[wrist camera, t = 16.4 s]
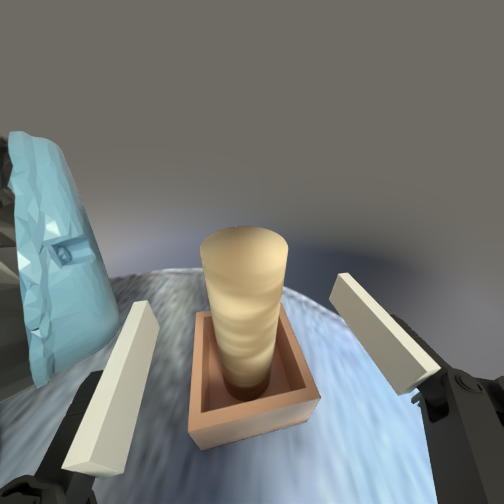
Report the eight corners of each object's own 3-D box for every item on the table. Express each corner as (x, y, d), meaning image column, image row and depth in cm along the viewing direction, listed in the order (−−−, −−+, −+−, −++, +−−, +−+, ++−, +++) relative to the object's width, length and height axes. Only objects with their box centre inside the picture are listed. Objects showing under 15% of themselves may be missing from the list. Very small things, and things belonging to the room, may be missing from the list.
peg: (225, 407, 17) (197, 279, 8) (222, 353, 21) (201, 229, 12) (276, 394, 18) (303, 265, 9) (263, 345, 22) (273, 223, 13)
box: (201, 450, 15) (187, 432, 12) (204, 342, 23) (196, 312, 20) (306, 421, 17) (321, 397, 13) (275, 329, 25) (280, 299, 21)
